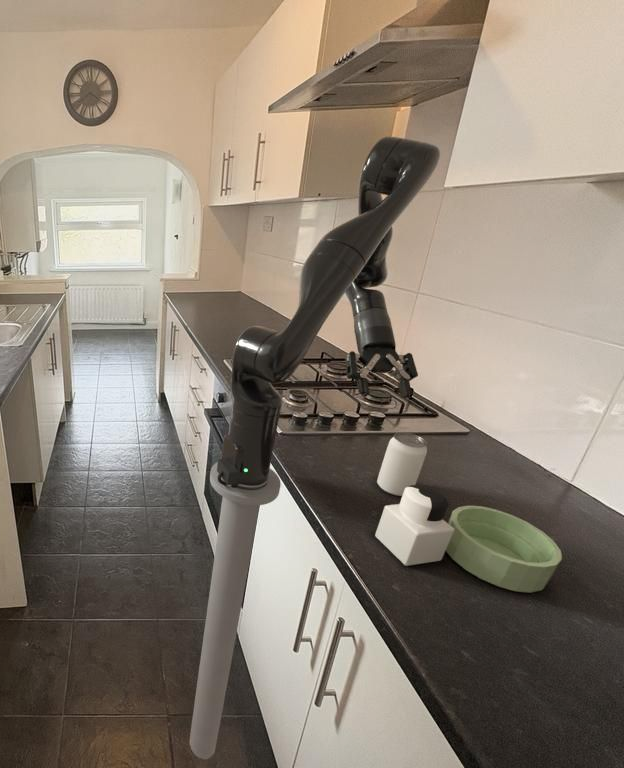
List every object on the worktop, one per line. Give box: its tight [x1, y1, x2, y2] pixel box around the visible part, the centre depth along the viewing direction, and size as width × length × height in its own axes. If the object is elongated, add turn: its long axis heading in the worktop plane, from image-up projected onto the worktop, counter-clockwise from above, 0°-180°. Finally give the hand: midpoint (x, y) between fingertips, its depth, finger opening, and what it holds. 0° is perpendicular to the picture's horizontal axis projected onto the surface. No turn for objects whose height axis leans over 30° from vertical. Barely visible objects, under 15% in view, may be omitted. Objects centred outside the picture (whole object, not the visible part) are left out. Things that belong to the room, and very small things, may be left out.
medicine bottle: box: [374, 484, 454, 567], centre depth 70 cm, size 7×7×12 cm
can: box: [376, 431, 428, 497], centre depth 86 cm, size 6×6×12 cm
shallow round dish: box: [445, 505, 563, 594], centre depth 69 cm, size 14×14×6 cm
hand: (385, 396), depth 92 cm, fingers open, 8 cm apart
